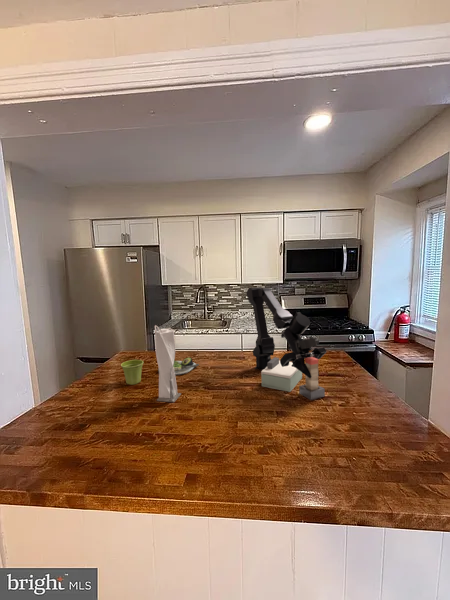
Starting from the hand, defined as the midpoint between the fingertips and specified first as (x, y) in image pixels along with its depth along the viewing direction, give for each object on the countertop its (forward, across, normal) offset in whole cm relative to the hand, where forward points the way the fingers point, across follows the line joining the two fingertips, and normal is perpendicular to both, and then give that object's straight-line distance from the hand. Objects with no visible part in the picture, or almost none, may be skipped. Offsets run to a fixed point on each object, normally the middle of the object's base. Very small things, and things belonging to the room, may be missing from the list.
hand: (314, 376), depth 105 cm
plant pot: (-29, -58, +40) cm, 77 cm away
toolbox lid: (-10, -2, +14) cm, 17 cm away
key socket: (+4, 0, +6) cm, 8 cm away
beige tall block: (+4, 0, +6) cm, 8 cm away
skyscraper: (-13, -48, +24) cm, 56 cm away
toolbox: (-7, -2, +17) cm, 19 cm away
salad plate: (-33, -36, +45) cm, 67 cm away
